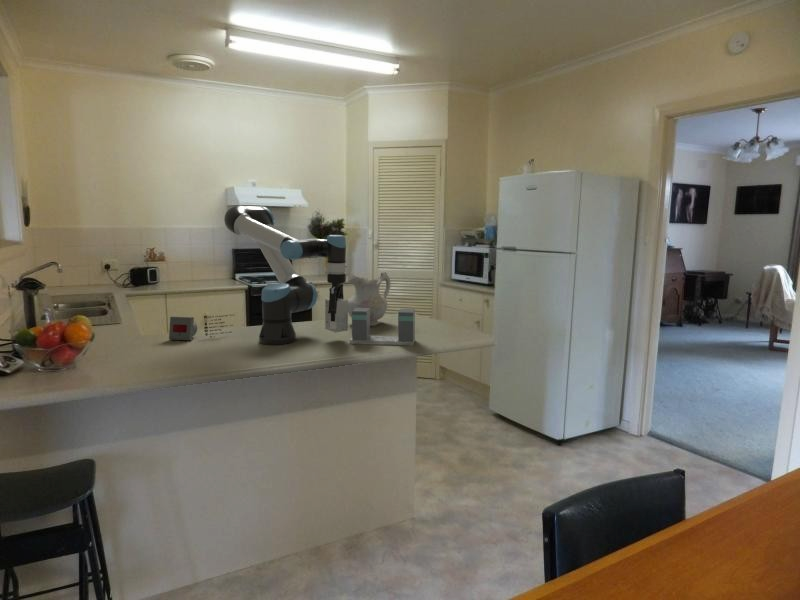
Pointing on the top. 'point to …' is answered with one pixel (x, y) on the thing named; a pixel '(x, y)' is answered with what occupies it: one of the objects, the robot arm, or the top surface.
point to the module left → (360, 323)
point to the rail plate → (382, 341)
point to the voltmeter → (187, 327)
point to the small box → (338, 315)
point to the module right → (406, 325)
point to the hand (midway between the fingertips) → (336, 325)
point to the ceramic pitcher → (369, 296)
